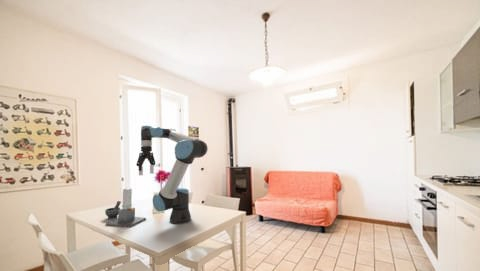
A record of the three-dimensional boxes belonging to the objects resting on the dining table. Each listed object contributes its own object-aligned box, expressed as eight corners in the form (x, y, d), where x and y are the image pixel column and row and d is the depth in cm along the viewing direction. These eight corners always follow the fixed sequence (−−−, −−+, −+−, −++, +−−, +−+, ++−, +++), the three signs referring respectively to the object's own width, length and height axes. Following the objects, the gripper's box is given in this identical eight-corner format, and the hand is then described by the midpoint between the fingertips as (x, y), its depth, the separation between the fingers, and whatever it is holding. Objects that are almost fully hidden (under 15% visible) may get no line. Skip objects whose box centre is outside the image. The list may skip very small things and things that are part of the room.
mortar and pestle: (110, 221, 156) (110, 204, 157) (102, 219, 160) (102, 203, 161) (124, 216, 166) (124, 201, 167) (116, 215, 170) (116, 200, 171)
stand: (146, 219, 158) (146, 205, 158) (130, 227, 142) (130, 211, 143) (123, 218, 162) (123, 204, 163) (105, 225, 147) (106, 210, 147)
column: (131, 212, 154) (132, 188, 155) (127, 213, 150) (127, 189, 151) (125, 211, 155) (126, 188, 156) (121, 213, 151) (122, 189, 152)
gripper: (151, 146, 174) (151, 172, 172) (130, 145, 150) (130, 176, 148) (159, 146, 173) (160, 172, 171) (140, 145, 148) (140, 176, 147)
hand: (146, 174), depth 159 cm, fingers open, 13 cm apart
